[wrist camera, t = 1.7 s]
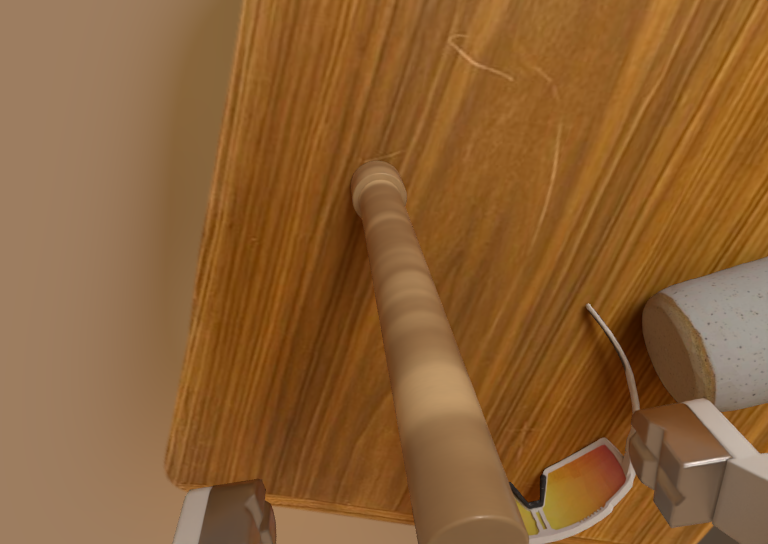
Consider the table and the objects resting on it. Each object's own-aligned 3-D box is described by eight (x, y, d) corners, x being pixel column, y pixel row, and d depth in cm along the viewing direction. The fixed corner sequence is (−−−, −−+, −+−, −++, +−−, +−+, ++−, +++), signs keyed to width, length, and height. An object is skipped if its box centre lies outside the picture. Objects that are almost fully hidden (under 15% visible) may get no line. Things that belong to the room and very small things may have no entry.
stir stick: (346, 164, 26) (397, 521, 9) (398, 156, 27) (548, 494, 9) (354, 213, 28) (413, 608, 10) (404, 204, 28) (545, 583, 10)
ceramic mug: (627, 272, 31) (711, 354, 24) (767, 227, 31) (891, 298, 24) (639, 398, 36) (710, 494, 30) (758, 362, 36) (858, 451, 29)
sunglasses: (430, 509, 39) (442, 568, 35) (388, 330, 34) (395, 371, 29) (619, 466, 39) (657, 520, 34) (606, 280, 34) (649, 314, 29)
